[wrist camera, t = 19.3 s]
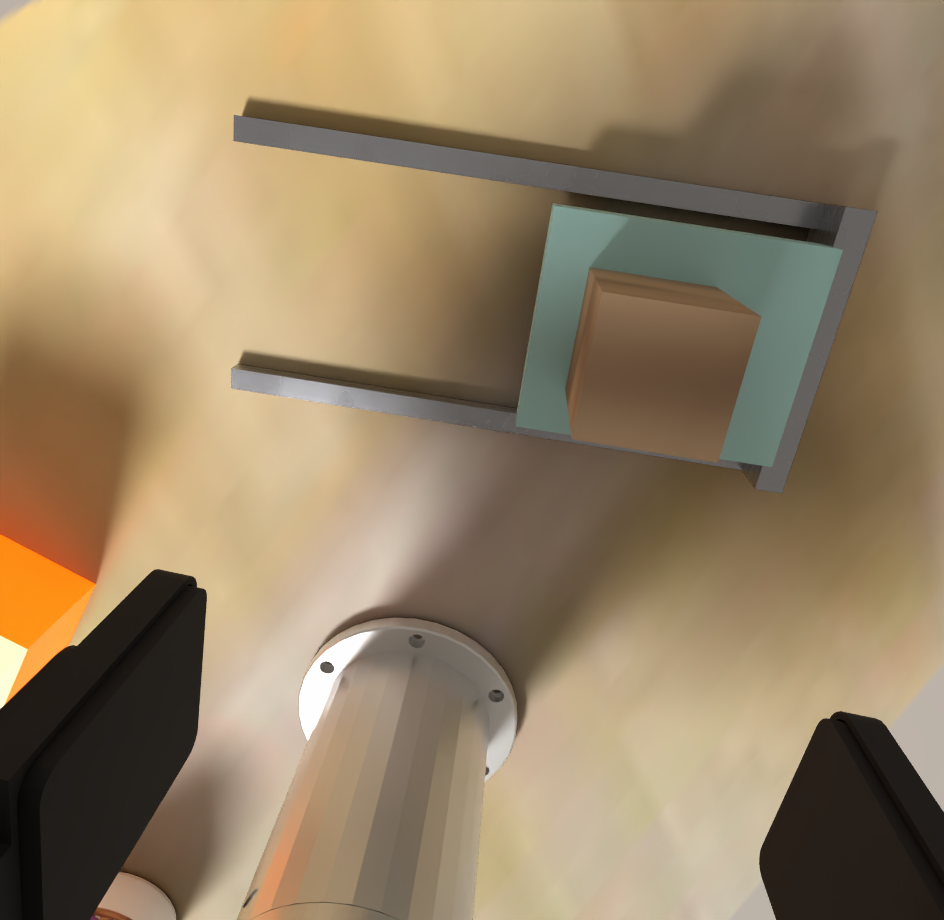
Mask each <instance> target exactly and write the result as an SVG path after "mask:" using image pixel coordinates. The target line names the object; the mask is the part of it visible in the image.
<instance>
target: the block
mask: <svg viewBox="0 0 944 920" xmlns="http://www.w3.org/2000/svg"><path fill="white" fill-rule="evenodd" d="M760 320H761V316H760V315H758V314H757V313H755V312H754V311H752V310H751V309H749V308H748V307H746V306H745V305H743V304H742V303H740V302H739V301H737V300H736V299H734V298H733V297H731V296H730V295H728V294H727V293H725V292H724V291H722V290H721V289H719V288H718V287H713V286H707V285H700V284H694V283H688V282H681V281H675V280H668V279H662V278H656V277H649V276H643V275H636V274H630V273H624V272H617V271H611V270H604V269H598V268H591V267H589V272H588V277H587V282H586V287H585V292H584V297H583V302H582V307H581V312H580V317H579V322H578V327H577V332H576V337H575V342H574V347H573V352H572V357H571V362H570V367H569V372H568V377H567V382H566V387H565V391H566V399H567V407H568V415H569V422H570V430H571V438H572V439H573V440H580V441H586V442H592V443H598V444H604V445H610V446H617V447H623V448H629V449H635V450H641V451H648V452H654V453H660V454H666V455H672V456H678V457H685V458H691V459H697V460H703V461H709V462H716V463H718V461H719V458H720V454H721V451H722V448H723V444H724V441H725V438H726V434H727V431H728V428H729V424H730V421H731V417H732V414H733V411H734V407H735V404H736V401H737V397H738V394H739V391H740V387H741V384H742V381H743V377H744V374H745V370H746V367H747V364H748V360H749V357H750V354H751V350H752V347H753V344H754V340H755V337H756V333H757V330H758V327H759V323H760Z"/></svg>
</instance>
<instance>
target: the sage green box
mask: <svg viewBox="0 0 944 920" xmlns="http://www.w3.org/2000/svg"><path fill="white" fill-rule="evenodd" d="M842 252H843V250H842V249H838V248H834V247H831V246H827V245H823V244H819V243H813V242H806V241H800V240H793V239H786V238H780V237H773V236H767V235H760V234H753V233H747V232H740V231H734V230H727V229H721V228H714V227H707V226H701V225H694V224H688V223H681V222H675V221H668V220H661V219H655V218H648V217H642V216H635V215H628V214H622V213H615V212H609V211H602V210H596V209H589V208H582V207H576V206H569V205H563V204H556V203H552V209H551V215H550V220H549V226H548V232H547V238H546V244H545V249H544V255H543V261H542V267H541V273H540V278H539V284H538V290H537V296H536V302H535V308H534V313H533V319H532V325H531V331H530V337H529V342H528V348H527V354H526V360H525V366H524V371H523V377H522V383H521V389H520V395H519V401H518V406H517V416H516V426H517V427H523V428H529V429H535V430H542V431H548V432H554V433H560V434H567V435H571V430H570V422H569V415H568V407H567V399H566V391H565V387H566V382H567V377H568V372H569V367H570V362H571V357H572V352H573V347H574V342H575V337H576V332H577V327H578V322H579V317H580V312H581V307H582V302H583V297H584V292H585V287H586V282H587V277H588V272H589V267H591V268H598V269H604V270H611V271H617V272H624V273H630V274H636V275H643V276H649V277H656V278H662V279H668V280H675V281H681V282H688V283H694V284H700V285H707V286H713V287H718V288H719V289H721V290H722V291H724V292H725V293H727V294H728V295H730V296H731V297H733V298H734V299H736V300H737V301H739V302H740V303H742V304H743V305H745V306H746V307H748V308H749V309H751V310H752V311H754V312H755V313H757V314H758V315H760V316H761V320H760V323H759V327H758V330H757V333H756V337H755V340H754V344H753V347H752V350H751V354H750V357H749V360H748V364H747V367H746V370H745V374H744V377H743V381H742V384H741V387H740V391H739V394H738V397H737V401H736V404H735V407H734V411H733V414H732V417H731V421H730V424H729V428H728V431H727V434H726V438H725V441H724V444H723V448H722V451H721V454H720V458H719V459H723V460H730V461H736V462H742V463H748V464H755V465H761V466H767V467H772V465H773V462H774V459H775V456H776V453H777V450H778V447H779V444H780V441H781V438H782V435H783V432H784V429H785V426H786V423H787V420H788V416H789V413H790V410H791V407H792V404H793V401H794V398H795V395H796V392H797V389H798V386H799V383H800V380H801V377H802V374H803V371H804V368H805V365H806V362H807V358H808V355H809V352H810V349H811V346H812V343H813V340H814V337H815V334H816V331H817V328H818V325H819V322H820V319H821V316H822V313H823V310H824V307H825V304H826V300H827V297H828V294H829V291H830V288H831V285H832V282H833V279H834V276H835V273H836V270H837V267H838V264H839V261H840V258H841V255H842Z"/></svg>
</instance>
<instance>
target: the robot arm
mask: <svg viewBox="0 0 944 920" xmlns="http://www.w3.org/2000/svg"><path fill="white" fill-rule="evenodd" d="M206 602H207V593H206V590H205V589H202V588H197V583H196V579H195V578H194V577H192V576H188V575H183V574H178V573H173V572H168V571H164V570H159V569H157V570H154V571H152V572H151V573H150V574H149V575H148V576H147V577H146V578H145V579H144V580H143V581H142V582H141V583H140V584H139V585H138V586H137V587H136V588H135V589H134V590H133V591H132V592H131V593H130V594H129V595H128V596H127V597H126V598H125V599H124V600H123V601H122V602H121V603H120V604H119V605H118V606H117V607H116V608H115V609H114V610H113V611H112V612H111V613H110V614H109V615H108V616H107V617H106V618H105V619H104V620H103V621H102V622H101V623H100V624H99V625H98V626H97V627H96V628H95V629H94V630H93V631H92V632H91V633H90V634H89V635H88V636H87V637H86V638H85V639H84V640H83V641H82V642H81V643H80V644H79V645H78V646H74V645H72V646H68V647H65V648H64V649H62V650H61V651H60V652H58V653H57V654H56V655H55V656H54V657H53V658H52V659H51V660H50V661H49V662H48V663H47V664H46V665H45V666H44V667H43V668H42V669H41V670H40V671H39V672H38V673H36V674H35V675H34V676H33V677H32V678H31V679H30V680H29V681H28V682H27V683H26V684H25V685H24V686H23V687H22V688H21V689H20V690H19V691H18V692H17V693H16V694H15V695H14V696H13V697H12V698H11V699H10V700H9V701H8V702H7V703H6V704H5V705H4V706H3V707H2V708H1V709H0V920H90V919H91V917H92V916H93V914H94V912H95V911H96V909H97V907H98V906H99V904H100V902H101V901H102V899H103V897H104V896H105V894H106V892H107V891H108V889H109V888H110V886H111V884H112V883H113V881H114V879H115V878H116V876H117V874H118V873H119V871H120V869H121V868H122V866H123V864H124V863H125V861H126V859H127V858H128V856H129V854H130V853H131V851H132V849H133V848H134V846H135V844H136V843H137V841H138V840H139V838H140V836H141V835H142V833H143V831H144V830H145V828H146V826H147V825H148V823H149V821H150V820H151V818H152V816H153V815H154V813H155V811H156V810H157V808H158V806H159V805H160V803H161V801H162V800H163V798H164V796H165V795H166V793H167V791H168V790H169V788H170V787H171V785H172V783H173V782H174V780H175V778H176V777H177V775H178V773H179V772H180V770H181V768H182V767H183V765H184V763H185V762H186V760H187V758H188V757H189V755H190V753H191V751H192V748H193V746H194V743H195V740H196V736H197V730H198V718H199V703H200V689H201V674H202V660H203V645H204V631H205V616H206ZM298 711H299V716H300V722H301V726H302V729H303V731H304V734H305V736H306V738H307V741H308V742H307V744H306V747H305V749H304V752H303V754H302V757H301V759H300V762H299V764H298V767H297V769H296V772H295V774H294V777H293V779H292V782H291V785H290V787H289V790H288V792H287V795H286V797H285V800H284V802H283V805H282V807H281V810H280V812H279V815H278V817H277V820H276V822H275V825H274V827H273V830H272V832H271V835H270V837H269V840H268V842H267V845H266V847H265V850H264V852H263V855H262V857H261V860H260V862H259V865H258V867H257V870H256V872H255V875H254V877H253V880H252V882H251V885H250V887H249V890H248V892H247V895H246V897H245V900H244V903H243V905H242V908H241V910H240V913H239V915H238V918H237V920H473V914H474V902H475V890H476V878H477V866H478V854H479V842H480V831H481V819H482V807H483V795H484V783H485V782H486V781H487V780H489V779H490V778H491V777H492V776H493V775H494V774H495V773H496V772H497V771H498V770H499V769H500V768H501V767H502V765H503V764H504V762H505V761H506V759H507V757H508V756H509V754H510V753H511V750H512V747H513V744H514V741H515V738H516V728H517V702H516V698H515V695H514V691H513V688H512V685H511V683H510V681H509V679H508V677H507V675H506V673H505V672H504V670H503V668H502V667H501V666H500V665H499V664H498V662H497V661H496V660H495V659H494V657H493V656H492V655H491V654H490V653H489V652H488V651H486V650H485V649H484V648H483V647H482V646H480V645H479V644H478V643H477V642H476V641H474V640H472V639H471V638H469V637H467V636H465V635H464V634H462V633H460V632H458V631H457V630H454V629H451V628H449V627H446V626H443V625H441V624H438V623H435V622H430V621H425V620H420V619H415V618H386V619H377V620H371V621H368V622H365V623H361V624H358V625H355V626H352V627H350V628H349V629H347V630H345V631H343V632H341V633H339V634H337V635H336V636H334V637H333V638H332V639H331V640H330V641H328V642H327V643H326V644H325V645H324V646H322V648H321V649H320V650H319V652H318V653H317V654H316V655H315V657H314V658H313V659H312V661H311V663H310V665H309V667H308V669H307V671H306V673H305V675H304V678H303V681H302V684H301V688H300V691H299V702H298ZM759 865H760V872H761V876H762V879H763V882H764V885H765V888H766V891H767V894H768V897H769V900H770V902H771V906H772V909H773V911H774V915H775V917H776V920H944V812H943V811H942V809H941V808H940V806H939V805H938V803H937V802H936V801H935V799H934V797H933V796H932V794H931V793H930V791H929V790H928V788H927V787H926V785H925V784H924V782H923V781H922V779H921V778H920V776H919V775H918V773H917V772H916V770H915V769H914V767H913V766H912V764H911V763H910V762H909V760H908V758H907V757H906V755H905V754H904V752H903V751H902V749H901V748H900V747H899V745H898V743H897V742H896V740H895V739H894V737H893V736H892V735H891V733H890V732H889V730H888V729H887V727H886V726H885V725H884V724H883V722H882V721H880V720H878V719H875V718H870V717H866V716H861V715H856V714H851V713H846V712H842V711H840V712H836V713H834V714H833V715H832V716H831V717H830V719H827V718H826V719H822V720H821V721H820V722H819V723H818V725H817V727H816V729H815V731H814V734H813V736H812V738H811V740H810V742H809V744H808V747H807V749H806V751H805V753H804V755H803V758H802V760H801V762H800V764H799V766H798V768H797V771H796V773H795V775H794V777H793V779H792V782H791V784H790V786H789V788H788V790H787V793H786V795H785V797H784V799H783V801H782V803H781V806H780V808H779V810H778V812H777V814H776V817H775V819H774V821H773V823H772V825H771V827H770V830H769V832H768V834H767V836H766V838H765V841H764V843H763V845H762V848H761V851H760V858H759Z"/></svg>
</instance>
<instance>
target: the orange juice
mask: <svg viewBox="0 0 944 920" xmlns="http://www.w3.org/2000/svg"><path fill="white" fill-rule="evenodd" d="M95 585H96V584H94V583H92V582H91V581H89V580H87V579H85V578H83V577H81V576H79V575H77V574H75V573H73V572H71V571H69V570H68V569H66V568H64V567H62V566H60V565H58V564H56V563H54V562H52V561H50V560H48V559H47V558H45V557H43V556H41V555H39V554H37V553H35V552H33V551H31V550H29V549H27V548H26V547H24V546H22V545H20V544H18V543H16V542H14V541H12V540H10V539H8V538H6V537H5V536H3V535H1V534H0V709H1V708H2V707H3V706H4V705H5V704H6V703H7V702H8V701H9V700H10V699H11V698H12V697H13V696H14V695H15V694H16V693H17V692H18V691H19V690H20V689H21V688H22V687H23V686H24V685H25V684H26V683H27V682H28V681H29V680H30V679H31V678H32V677H33V676H34V675H35V674H36V673H38V672H39V671H40V670H41V669H42V668H43V667H44V666H45V665H46V664H47V663H48V662H49V661H50V660H51V659H52V658H53V657H54V656H55V655H56V654H57V653H58V652H60V651H61V650H62V649H64V648H65V647H68V644H69V642H70V640H71V638H72V635H73V633H74V631H75V629H76V627H77V624H78V622H79V620H80V618H81V616H82V613H83V611H84V609H85V607H86V605H87V602H88V600H89V598H90V596H91V594H92V591H93V589H94V587H95Z"/></svg>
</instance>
